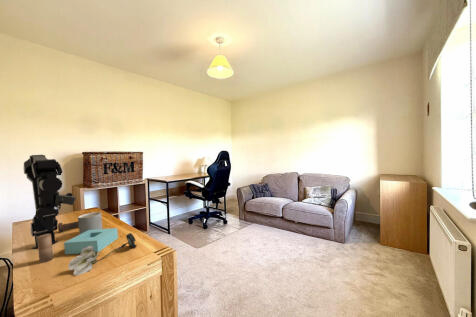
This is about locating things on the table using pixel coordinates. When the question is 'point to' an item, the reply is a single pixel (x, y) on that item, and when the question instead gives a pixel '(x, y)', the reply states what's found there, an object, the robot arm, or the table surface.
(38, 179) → the robot arm
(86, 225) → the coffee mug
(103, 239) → the socket block
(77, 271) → the artificial flower
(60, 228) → the bolt
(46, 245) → the walnut dowel
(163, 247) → the table surface
